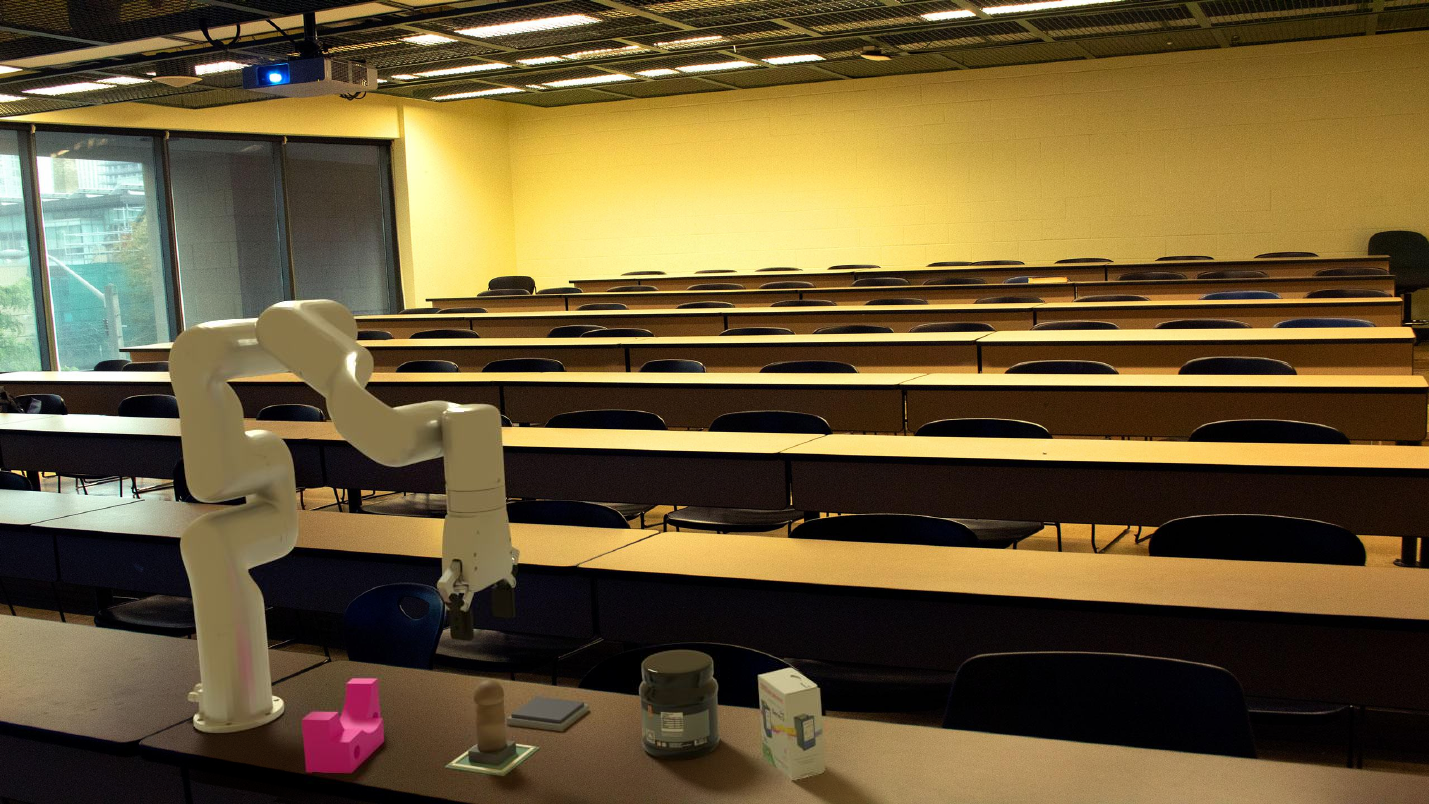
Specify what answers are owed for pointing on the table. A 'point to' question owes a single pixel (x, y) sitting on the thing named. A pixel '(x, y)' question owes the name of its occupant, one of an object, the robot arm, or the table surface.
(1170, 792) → the table surface
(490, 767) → the mat
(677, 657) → the supplement container
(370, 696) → the toy block
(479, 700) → the stamp
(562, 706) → the ink pad
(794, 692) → the ink box
